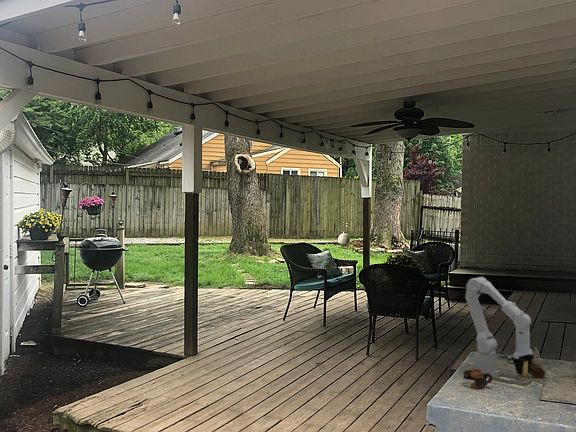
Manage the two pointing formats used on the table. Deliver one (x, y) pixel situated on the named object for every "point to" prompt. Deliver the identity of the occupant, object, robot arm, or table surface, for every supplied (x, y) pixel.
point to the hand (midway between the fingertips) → (523, 372)
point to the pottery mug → (477, 378)
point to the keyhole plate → (511, 381)
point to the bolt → (536, 371)
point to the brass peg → (524, 370)
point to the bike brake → (532, 354)
